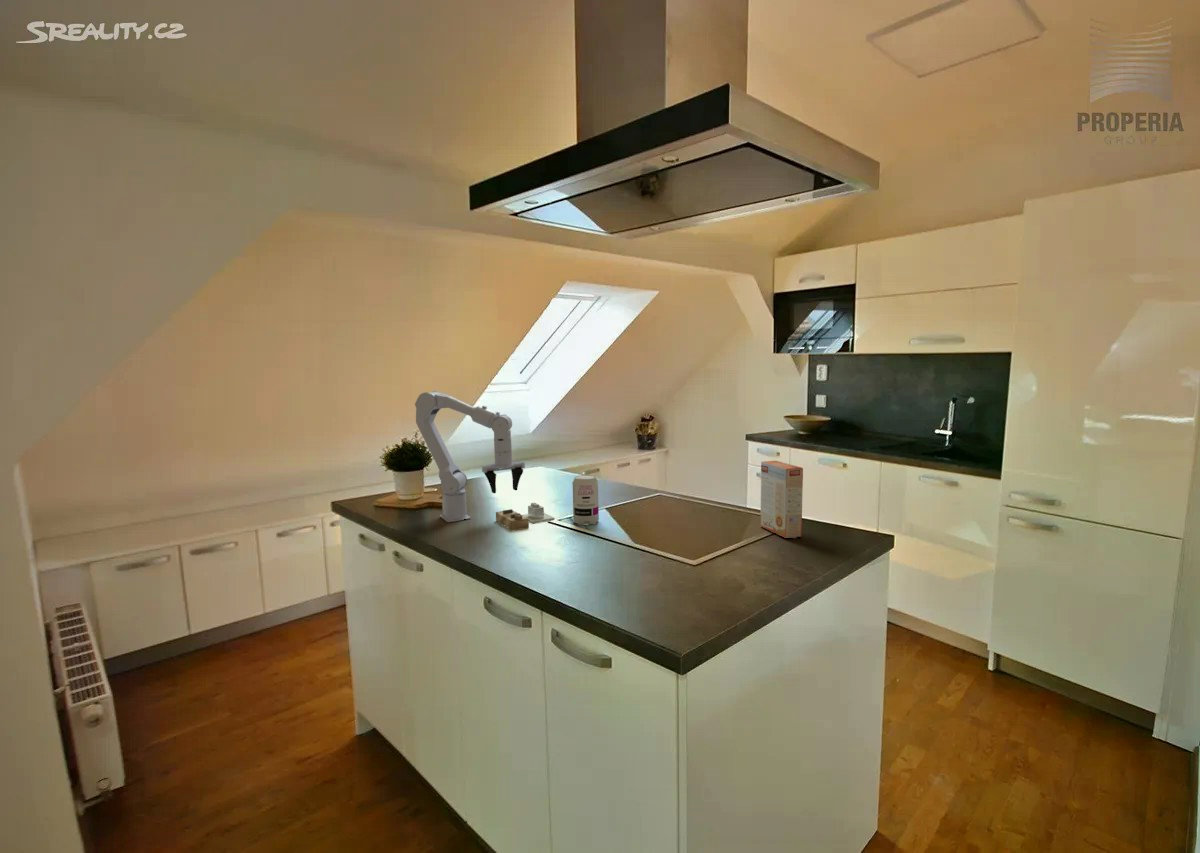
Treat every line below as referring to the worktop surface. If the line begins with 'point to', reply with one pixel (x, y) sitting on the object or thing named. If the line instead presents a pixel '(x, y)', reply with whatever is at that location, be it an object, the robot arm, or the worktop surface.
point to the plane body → (512, 519)
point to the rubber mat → (546, 518)
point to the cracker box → (781, 498)
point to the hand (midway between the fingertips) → (504, 491)
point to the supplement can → (585, 499)
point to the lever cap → (535, 511)
